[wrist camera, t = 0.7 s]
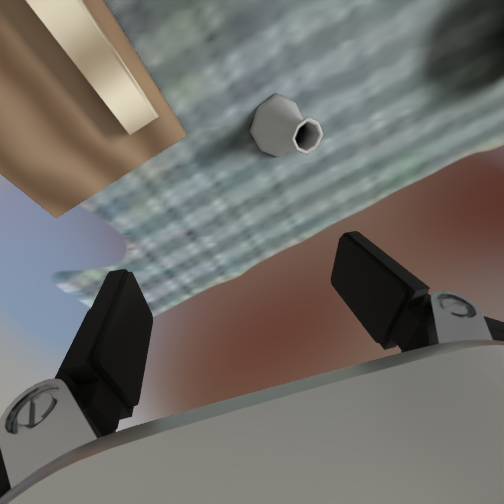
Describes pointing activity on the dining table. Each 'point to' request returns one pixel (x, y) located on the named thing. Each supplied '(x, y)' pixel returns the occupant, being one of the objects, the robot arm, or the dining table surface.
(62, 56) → the stool seat board
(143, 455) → the robot arm
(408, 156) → the dining table surface
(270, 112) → the flask
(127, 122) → the folding leg
